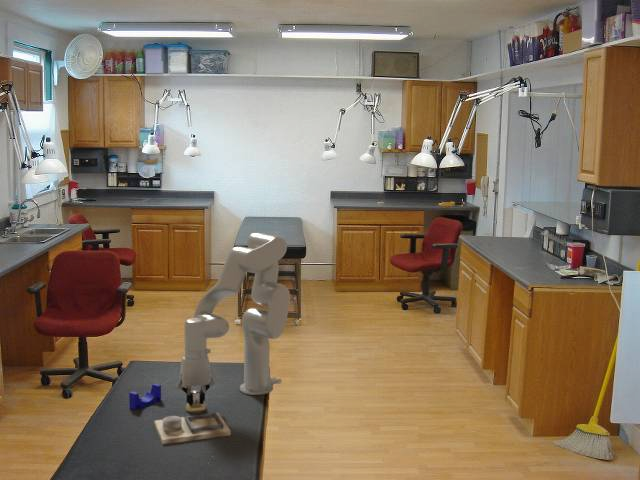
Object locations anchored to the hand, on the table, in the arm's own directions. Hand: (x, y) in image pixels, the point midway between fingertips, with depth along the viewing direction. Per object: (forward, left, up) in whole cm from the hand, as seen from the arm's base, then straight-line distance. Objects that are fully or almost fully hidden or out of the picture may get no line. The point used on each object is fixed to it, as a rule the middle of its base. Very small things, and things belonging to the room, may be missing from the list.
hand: (195, 403), depth 267 cm
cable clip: (+16, -11, -3) cm, 20 cm away
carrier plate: (+5, +17, -2) cm, 18 cm away
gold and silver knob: (0, 0, -2) cm, 2 cm away
